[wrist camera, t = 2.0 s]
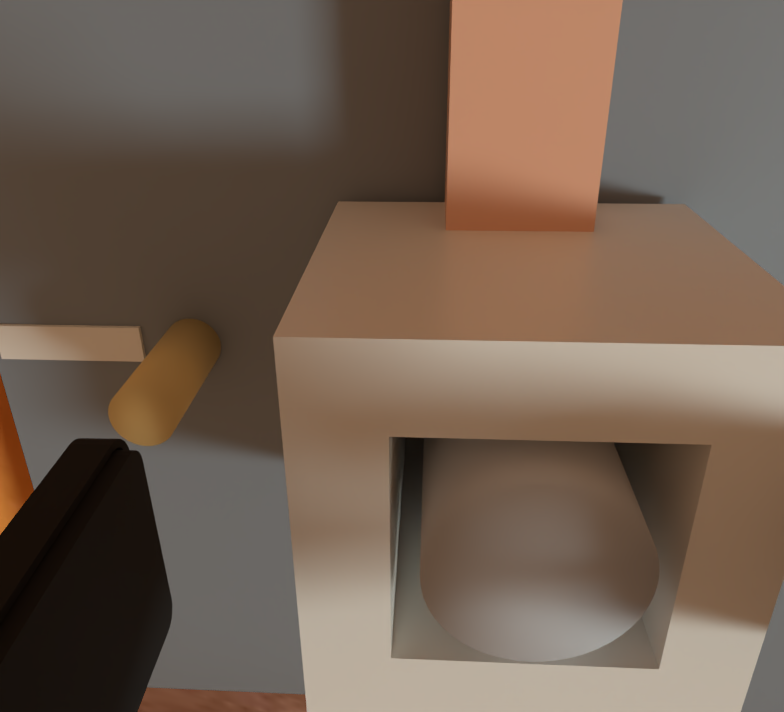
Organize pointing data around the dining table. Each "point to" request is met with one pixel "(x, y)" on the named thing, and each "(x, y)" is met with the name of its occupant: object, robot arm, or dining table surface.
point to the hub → (531, 390)
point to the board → (285, 269)
